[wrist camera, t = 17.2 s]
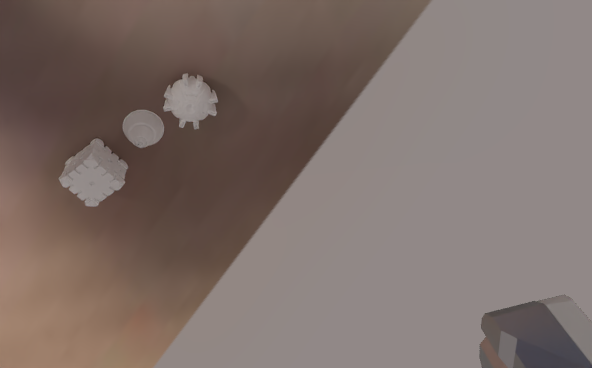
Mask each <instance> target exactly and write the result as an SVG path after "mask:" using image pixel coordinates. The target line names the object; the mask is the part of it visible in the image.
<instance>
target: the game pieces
mask: <svg viewBox="0 0 592 368" xmlns="http://www.w3.org/2000/svg"><path fill="white" fill-rule="evenodd" d="M170 87H171V85H169V86H168V87H167V90H166V92H165V94H164V97H165V98H167V99H166V100H165V103H164V106H163V109H164V112H165V111H171V112H172V113H173V114H174V116H176V117H177V118H180V119H179V123H180V124H179V127H181V128H184V125H185V123H186V121H188V122H193V125H194V129H199V120H203V119H205V118H206V117H207V116H208V114H210V115H213V116H216V114H217V111H216V106H215V104H214V103H217V102H218V99H217V96H216V93H215V91H214V90H212V93H211V91H210V90H211V89H210V87H209V86H208V85H207V84H206V83H205V82H203V77H202V76H200V75H198V74H197V79H196V78H195V76H190V77H189V78H188V73H187V74H183V76H182V80H180V79H179V80H178V81H176V82H175V83H174V84H173V87H172V88H170ZM123 132H124V134H125V136H126V137H127V139H128V140H129V141H130V142H132V143H133V144H134V145H135V146H137V147H139V148H144V147H147V146H149V145H153V144H155V143H157V142H158V141H159V140H160V139H161V138H162V136H163V133H164V125H163V122H162V120H161V119H160V117H159V116H158V115H156V114H155V113H153V112H151V111H148V110H136V111H133V112H131V113H129V114H128V115H127V116H126V118H125V119H124V121H123ZM111 152H112V151H111V150H110V149H109V148H108V147H107V146H105V147H104V142H103V141H102V140H101V139H98V138H95V139H94V140H92V141H91V143H90V145H87V146H86V147H85V148H84V149H83V151H82V150H81V151H80V152H78V153H77V154H76V156H72V157H70V158H69V159H68V160H67V161H66V162H65V164H66V166H65V168H64V171H63V172H62V175H61V176H60V177H59V178H58V179H59V181H60V183H61V185H62V186H63V187H64V188H65V187H66V188H67V187H69V186H70V187H69V190H70V191H71V192H72V193H74V194H76V193H77V192H78V194H77V197H78V198H80V199H81V200H82V201H83V200H85V199H86V200H85V205H86V206H91V207H97V206H98V205H99V201H100V202H101V201H103V200H104V199H105V198H106V197H107V196H110V195H111V194H112V193H114V190H115V191H116V190H117V191H118V190H120V189H121V187H122V186H123V185H124V184H125V181H124V179H125V174H126V170H127V169H128V165H127V163H126V162H125V161H124V160H121V159H120V160H118V159H119V157H118V156H117V155H116V154H115V153H112V154H111Z"/></svg>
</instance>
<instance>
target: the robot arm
mask: <svg viewBox="0 0 592 368" xmlns="http://www.w3.org/2000/svg"><path fill="white" fill-rule="evenodd" d="M481 328H482V330H483V332H484V334H485V335H486V338H485V339H484V340H483V341H482V342H481V344H480V361H481V365H482V368H592V322H591V320H590V319H589V318H588V317H587V316H586V315H585V314H584V312H583V311H582V310H581V309H580V308H579V307H578V306H577V305H576V303H575V302H574V301H573V300H572V299H571V298H570V297H568V296H566V295H561V296H556V297H552V298H548V299H544V300H540V301H537V302H536V301H533V302H529V303H525V304H521V305H517V306H513V307H509V308H505V309H501V310H497V311H493V312H489V313H485V315H484V316H483V318H482V324H481Z"/></svg>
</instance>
